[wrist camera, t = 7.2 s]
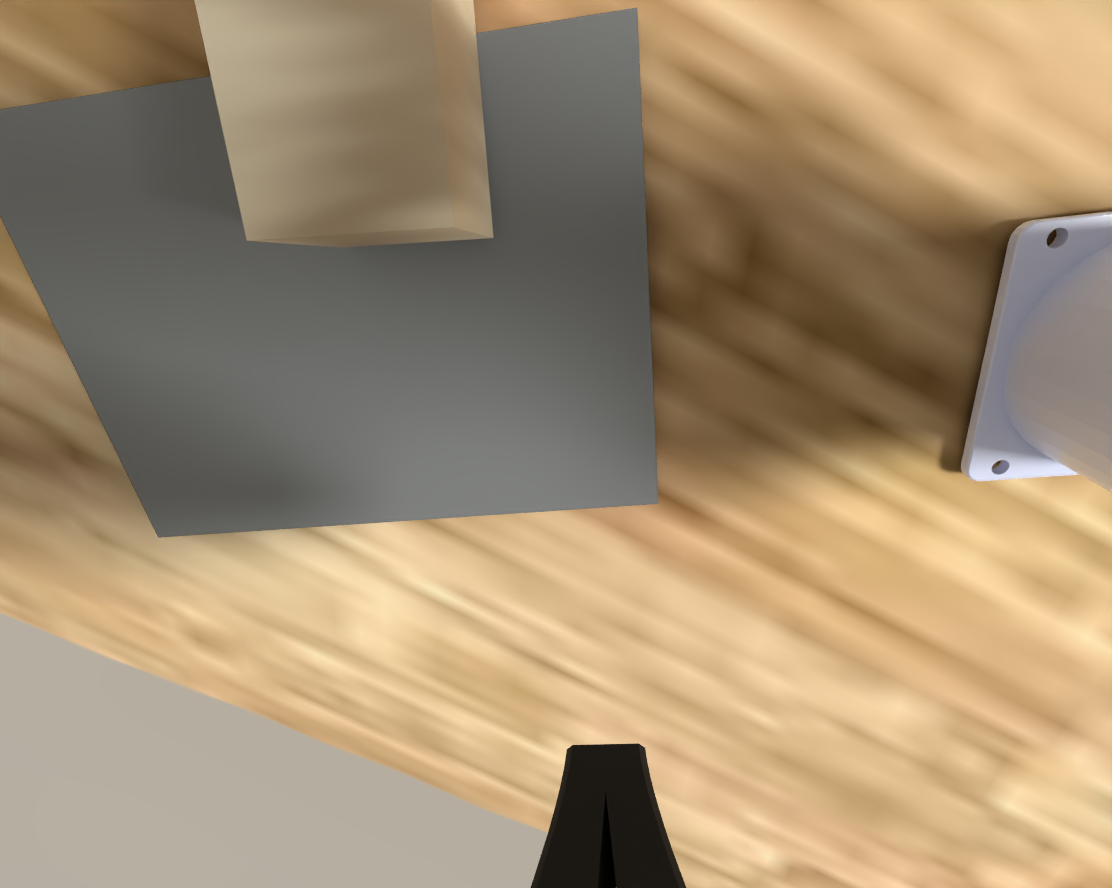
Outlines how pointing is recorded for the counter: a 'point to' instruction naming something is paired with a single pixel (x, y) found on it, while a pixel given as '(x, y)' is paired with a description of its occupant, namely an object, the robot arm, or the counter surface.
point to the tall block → (351, 119)
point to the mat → (356, 307)
